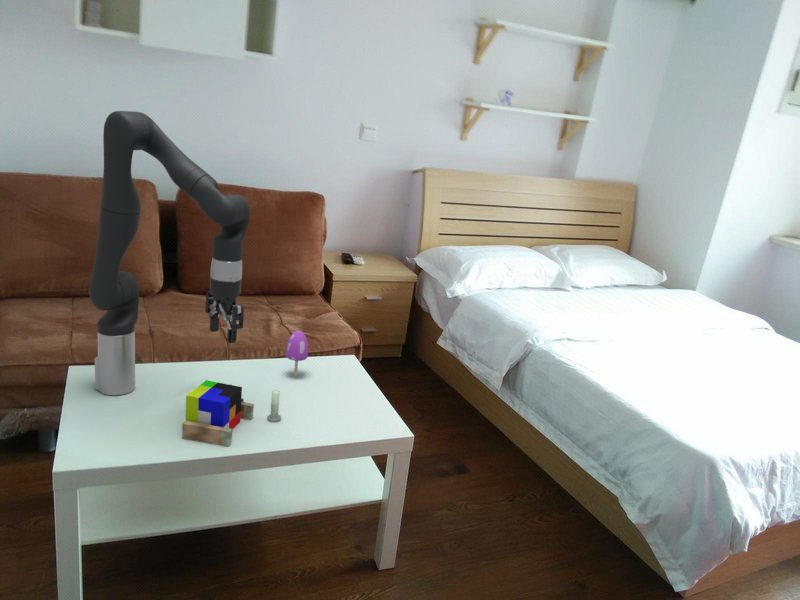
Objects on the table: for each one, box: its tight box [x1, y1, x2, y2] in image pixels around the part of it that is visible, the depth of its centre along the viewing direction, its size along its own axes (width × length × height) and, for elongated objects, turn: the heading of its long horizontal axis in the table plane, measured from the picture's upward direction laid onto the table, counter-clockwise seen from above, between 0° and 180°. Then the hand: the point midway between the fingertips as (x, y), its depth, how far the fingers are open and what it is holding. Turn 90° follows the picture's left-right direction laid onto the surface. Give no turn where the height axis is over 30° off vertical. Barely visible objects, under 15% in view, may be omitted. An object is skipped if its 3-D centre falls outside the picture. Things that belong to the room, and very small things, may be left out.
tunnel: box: [181, 397, 255, 447], centre depth 161 cm, size 12×22×4 cm, turn 172°
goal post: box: [266, 389, 282, 423], centre depth 166 cm, size 4×4×8 cm
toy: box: [285, 330, 309, 378], centre depth 193 cm, size 7×7×15 cm
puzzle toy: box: [185, 379, 243, 431], centre depth 158 cm, size 10×10×10 cm
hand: (222, 336), depth 159 cm, fingers open, 8 cm apart
